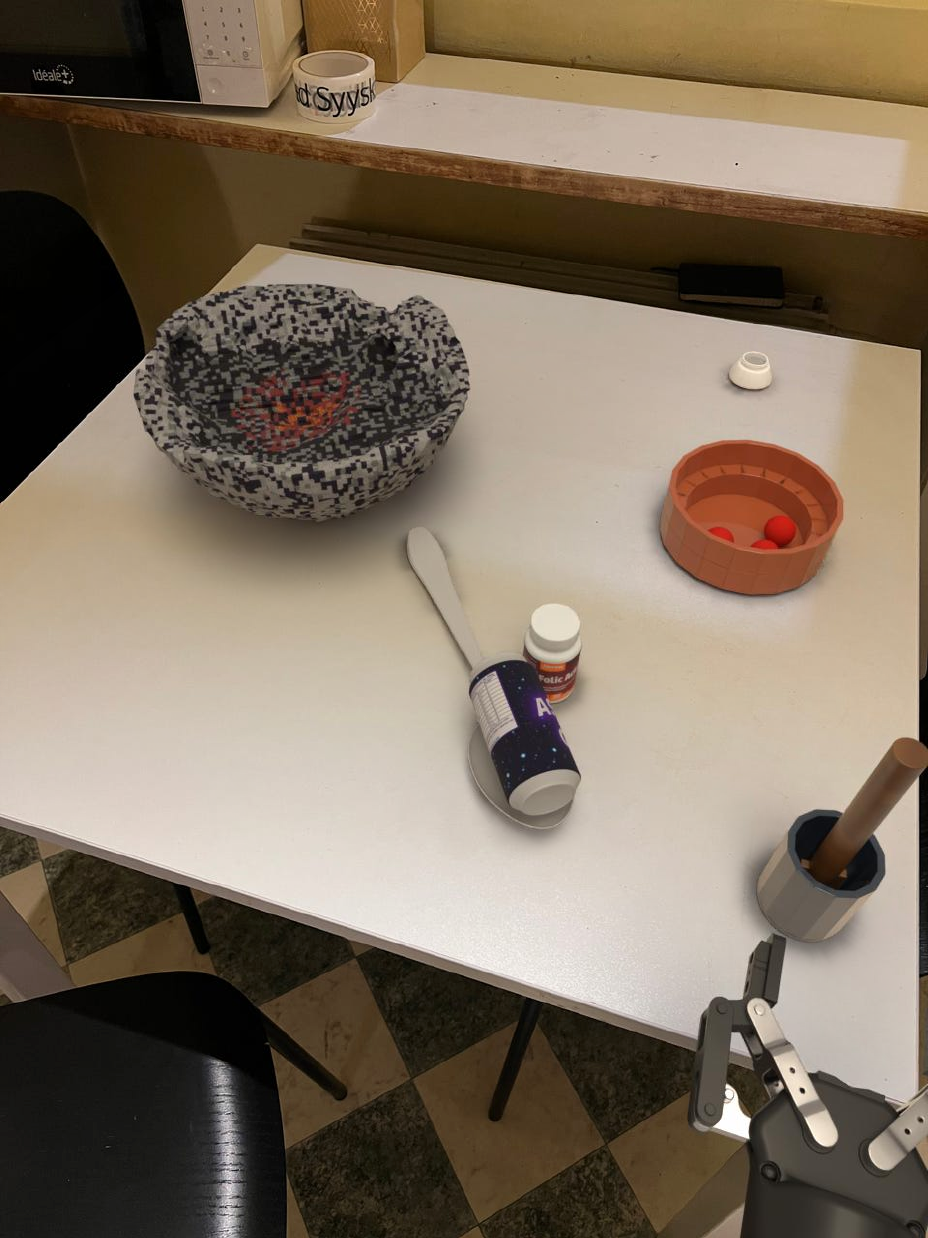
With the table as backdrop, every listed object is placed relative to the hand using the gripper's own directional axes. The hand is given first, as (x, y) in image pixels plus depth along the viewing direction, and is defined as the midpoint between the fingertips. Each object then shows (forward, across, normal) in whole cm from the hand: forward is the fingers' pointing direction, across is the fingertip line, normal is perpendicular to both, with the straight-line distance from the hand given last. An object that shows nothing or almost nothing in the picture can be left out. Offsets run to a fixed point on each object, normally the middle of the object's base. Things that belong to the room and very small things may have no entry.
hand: (855, 968), depth 46 cm
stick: (+10, 0, +14) cm, 17 cm away
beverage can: (+8, +19, +8) cm, 22 cm away
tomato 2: (+42, +8, +12) cm, 45 cm away
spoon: (+21, +30, +14) cm, 39 cm away
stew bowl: (+46, +10, +14) cm, 49 cm away
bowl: (+39, +54, +14) cm, 68 cm away
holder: (+10, 0, +14) cm, 17 cm away
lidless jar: (+74, +14, +14) cm, 77 cm away
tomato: (+43, +12, +12) cm, 46 cm away
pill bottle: (+22, +23, +14) cm, 35 cm away
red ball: (+46, +7, +12) cm, 48 cm away
